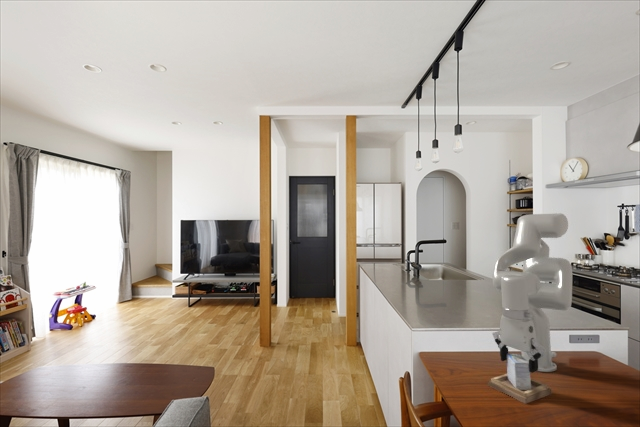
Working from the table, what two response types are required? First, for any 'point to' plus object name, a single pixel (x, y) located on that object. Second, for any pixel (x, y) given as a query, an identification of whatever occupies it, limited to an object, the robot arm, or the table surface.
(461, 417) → the table surface
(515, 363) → the medicine box
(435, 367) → the table surface
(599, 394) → the table surface
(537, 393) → the square wooden tray
